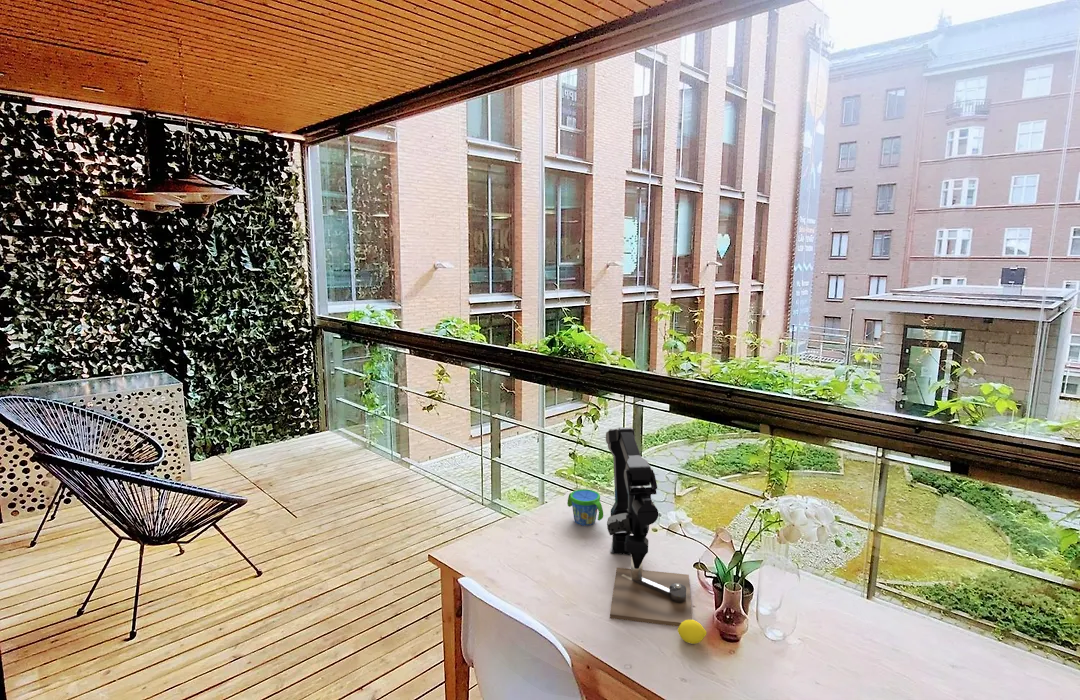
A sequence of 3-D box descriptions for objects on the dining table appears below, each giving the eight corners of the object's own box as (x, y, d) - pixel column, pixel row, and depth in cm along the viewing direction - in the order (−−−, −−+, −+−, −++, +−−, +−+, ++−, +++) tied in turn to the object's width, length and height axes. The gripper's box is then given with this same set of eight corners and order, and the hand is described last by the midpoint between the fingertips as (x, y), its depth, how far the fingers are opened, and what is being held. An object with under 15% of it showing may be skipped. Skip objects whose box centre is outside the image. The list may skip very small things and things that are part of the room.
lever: (688, 597, 155) (689, 573, 154) (681, 604, 152) (681, 580, 150) (635, 575, 166) (636, 552, 165) (627, 581, 162) (627, 558, 161)
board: (616, 571, 171) (616, 567, 171) (688, 578, 167) (688, 574, 166) (609, 618, 149) (609, 613, 149) (692, 628, 145) (692, 623, 144)
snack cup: (610, 525, 199) (611, 498, 198) (587, 534, 193) (588, 506, 192) (582, 510, 212) (582, 484, 210) (560, 517, 206) (559, 491, 204)
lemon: (677, 647, 139) (674, 626, 138) (680, 633, 144) (677, 613, 143) (706, 650, 136) (704, 629, 135) (708, 636, 141) (706, 616, 140)
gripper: (612, 492, 170) (611, 541, 173) (606, 520, 152) (605, 574, 155) (650, 495, 168) (648, 544, 170) (648, 524, 150) (647, 578, 152)
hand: (637, 559), depth 162 cm, fingers open, 9 cm apart
